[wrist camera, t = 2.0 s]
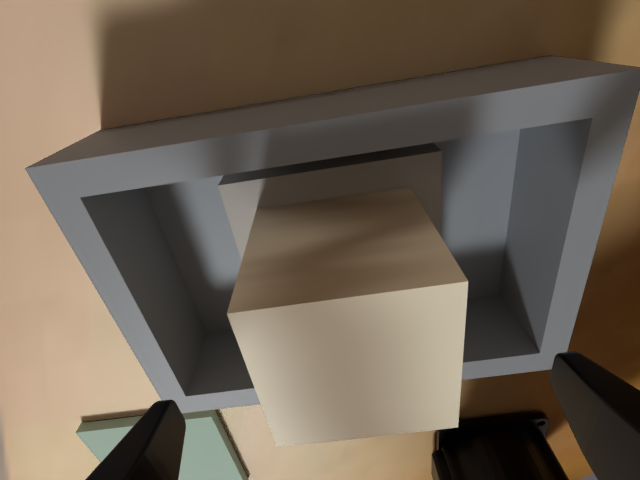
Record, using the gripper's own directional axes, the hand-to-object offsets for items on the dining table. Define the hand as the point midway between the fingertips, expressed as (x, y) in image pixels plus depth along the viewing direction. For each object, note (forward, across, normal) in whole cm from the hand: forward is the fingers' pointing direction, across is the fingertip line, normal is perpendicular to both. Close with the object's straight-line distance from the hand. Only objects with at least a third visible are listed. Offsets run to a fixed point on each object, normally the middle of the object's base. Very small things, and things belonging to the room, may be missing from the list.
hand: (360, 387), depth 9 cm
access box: (+8, 0, 0) cm, 8 cm away
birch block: (+5, 0, 0) cm, 5 cm away
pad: (+8, +12, +14) cm, 21 cm away
